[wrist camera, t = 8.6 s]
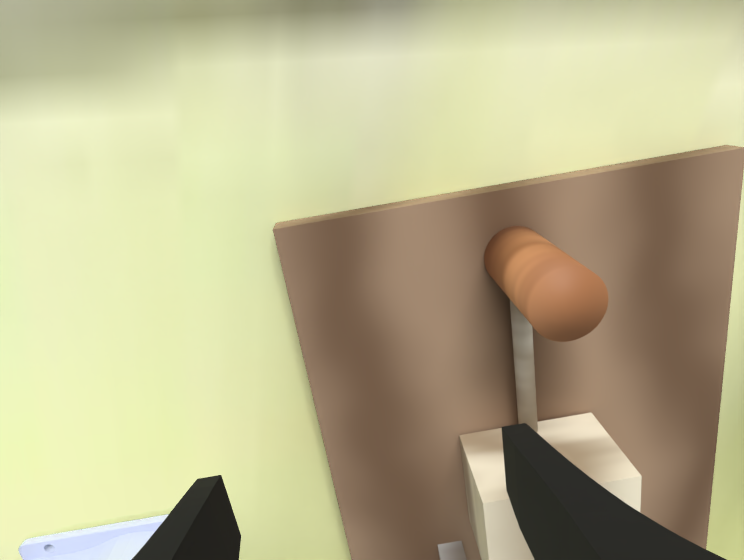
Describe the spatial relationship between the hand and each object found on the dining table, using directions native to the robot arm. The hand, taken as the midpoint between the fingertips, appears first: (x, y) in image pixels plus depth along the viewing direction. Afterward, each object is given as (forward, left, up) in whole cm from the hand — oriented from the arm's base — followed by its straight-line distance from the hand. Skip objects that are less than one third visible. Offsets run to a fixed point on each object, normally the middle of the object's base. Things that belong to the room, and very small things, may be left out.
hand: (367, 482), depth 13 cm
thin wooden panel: (+7, -13, -9) cm, 17 cm away
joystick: (+7, -4, -8) cm, 11 cm away
